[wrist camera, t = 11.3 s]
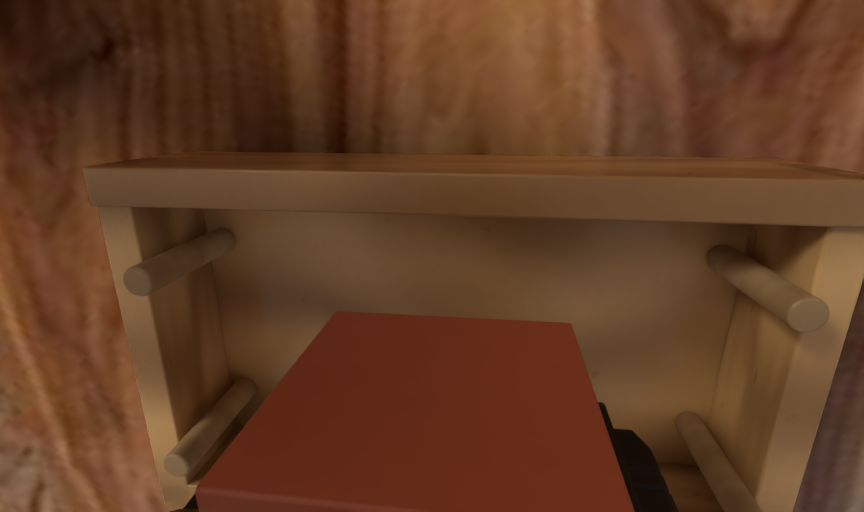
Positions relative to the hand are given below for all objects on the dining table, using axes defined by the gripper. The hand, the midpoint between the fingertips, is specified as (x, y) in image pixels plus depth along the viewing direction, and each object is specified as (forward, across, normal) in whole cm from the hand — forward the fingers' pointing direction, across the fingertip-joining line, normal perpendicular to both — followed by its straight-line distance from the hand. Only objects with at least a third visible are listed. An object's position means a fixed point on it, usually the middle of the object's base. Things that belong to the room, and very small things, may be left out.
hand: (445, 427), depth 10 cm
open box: (+6, 0, 0) cm, 6 cm away
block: (0, 0, 0) cm, 0 cm away
